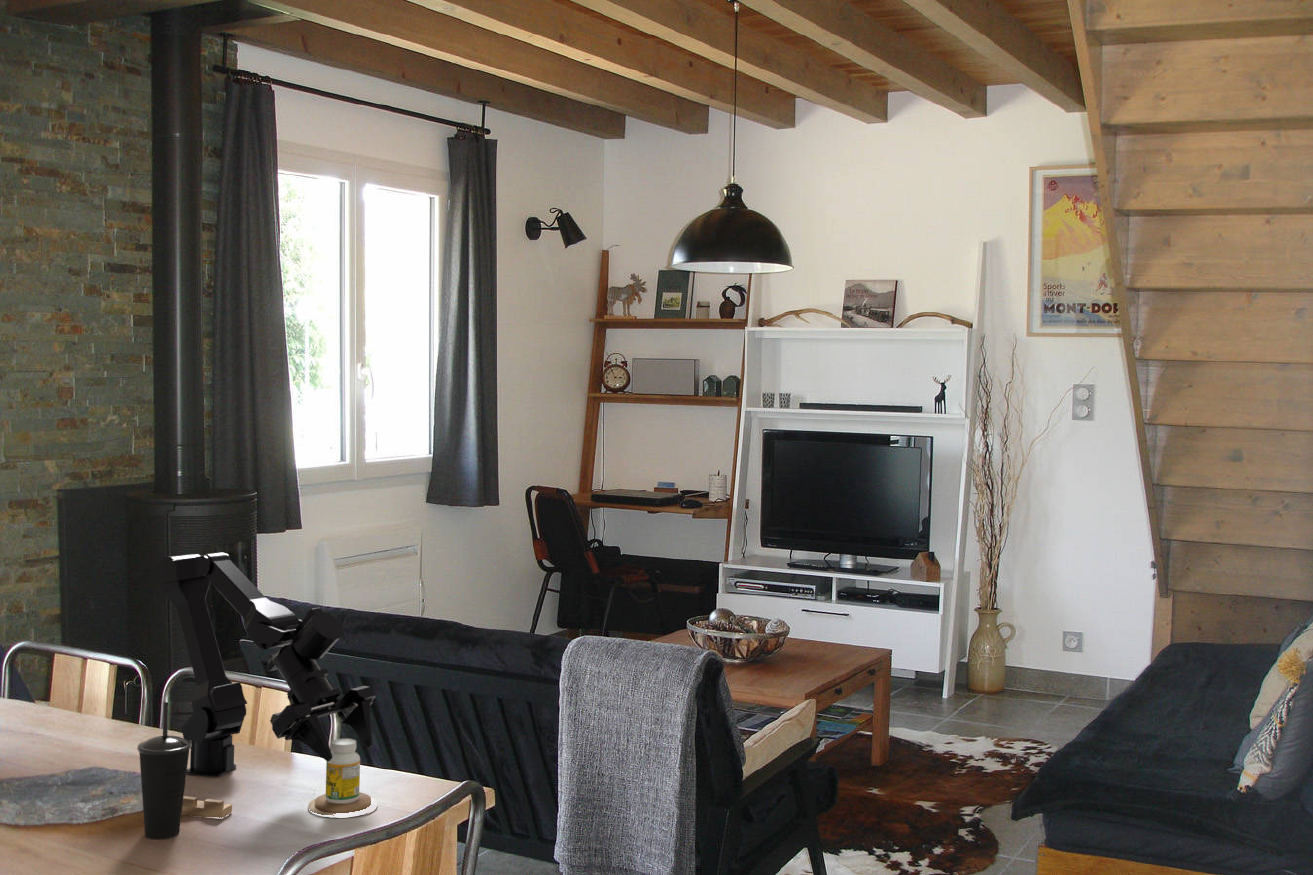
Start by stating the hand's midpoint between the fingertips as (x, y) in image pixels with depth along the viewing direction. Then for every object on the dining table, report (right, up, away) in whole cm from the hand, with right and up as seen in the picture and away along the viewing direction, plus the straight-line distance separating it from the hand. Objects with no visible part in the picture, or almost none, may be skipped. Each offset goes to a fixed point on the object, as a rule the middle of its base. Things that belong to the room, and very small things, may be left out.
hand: (350, 753), depth 202 cm
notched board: (-22, -8, -5) cm, 24 cm away
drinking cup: (-25, -9, -14) cm, 30 cm away
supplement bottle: (-2, -8, +1) cm, 8 cm away
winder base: (-1, -9, +1) cm, 9 cm away
